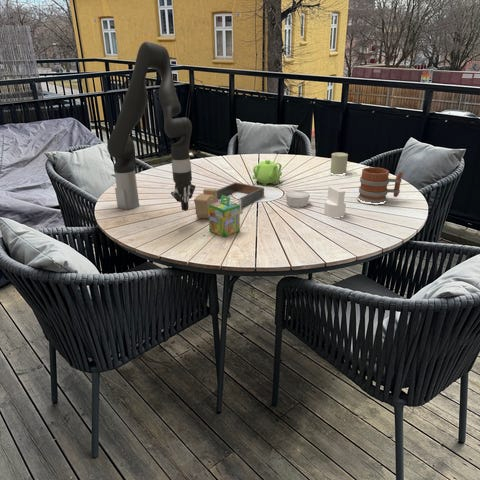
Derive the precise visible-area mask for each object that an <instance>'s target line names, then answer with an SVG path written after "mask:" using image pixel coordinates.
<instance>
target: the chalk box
mask: <svg viewBox="0 0 480 480" xmlns="http://www.w3.org/2000/svg"><path fill="white" fill-rule="evenodd" d="M230 199H231V198H230V196H224V195H222V196H221V199H220V201H219V200H218V202H216V203H213V204H210V205H209V219H208V222H209V223H208V225H209V226H208V228H209V229H208V230H209V232H211V233H214V234H217V235H218V236H221V237H222V238H225V237H228V236H230V235H233V234H235V233H238V232H240V230H241V229H240V228H241V226H240V225H241V224H240V222H241V221H240V220H241V217H240V216H241V213H240V205H239V203H235V202H234V201H230Z"/></svg>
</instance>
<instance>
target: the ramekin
mask: <svg viewBox="0 0 480 480" xmlns="http://www.w3.org/2000/svg"><path fill="white" fill-rule="evenodd" d="M310 196H311V194H310V193H309V192H307V191H304V190H290V191H287V192H286V193H285V198H286V204H287V205H288V206H289V207H291V206H292V207H291V208H297V207H300V208H304V207H303V206H305V207H306V206H307V205H308V204H309V200H310Z"/></svg>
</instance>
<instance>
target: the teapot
mask: <svg viewBox="0 0 480 480" xmlns="http://www.w3.org/2000/svg"><path fill="white" fill-rule="evenodd" d="M278 166H279V167H278ZM252 168H253V169H252V170H253V175H252V179H253V180H256V181H257V183H259V184H260V183H261V185H262V186H264V187H266V186H268V184H272V185H277V184H278V183H277V182H279V181H280V179H281V177H282V175H283V174H282V164H281V163H280V162H275V161H271V160H270V159H264V160H262V161H260V162H258V164H257V165H256V164H255V165H254V166H253V167H252Z"/></svg>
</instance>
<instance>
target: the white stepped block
mask: <svg viewBox="0 0 480 480" xmlns="http://www.w3.org/2000/svg"><path fill="white" fill-rule="evenodd" d="M327 189H328V190H327V199H326V200H325V201H324V210H323V215H324V214H325V215H327V216H330V217H341V216H344V215H346V205H347V202H346V200H345V195H346V191H345V190H343V189H342V188H339V186H336V185H328V188H327ZM325 215H324V216H325ZM344 217H345V216H344Z"/></svg>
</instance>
